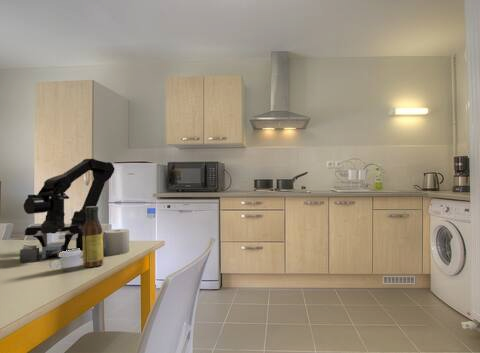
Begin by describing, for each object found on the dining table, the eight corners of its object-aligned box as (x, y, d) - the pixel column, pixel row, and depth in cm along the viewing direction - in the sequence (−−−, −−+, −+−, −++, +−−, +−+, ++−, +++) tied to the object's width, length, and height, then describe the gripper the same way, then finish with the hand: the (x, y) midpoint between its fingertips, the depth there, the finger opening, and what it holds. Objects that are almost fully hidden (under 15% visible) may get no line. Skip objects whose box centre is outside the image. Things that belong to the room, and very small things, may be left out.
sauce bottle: (107, 263, 106) (107, 206, 106) (93, 268, 100) (93, 207, 100) (92, 262, 108) (92, 205, 108) (77, 267, 102) (77, 207, 103)
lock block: (67, 252, 123) (67, 241, 123) (61, 257, 114) (61, 246, 114) (50, 253, 121) (50, 242, 121) (42, 259, 112) (42, 247, 113)
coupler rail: (49, 252, 123) (49, 239, 123) (35, 262, 109) (35, 247, 109) (35, 253, 122) (35, 240, 122) (19, 263, 108) (19, 248, 108)
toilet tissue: (95, 257, 115) (95, 234, 115) (109, 249, 128) (109, 229, 128) (120, 257, 115) (120, 234, 115) (131, 249, 128) (131, 228, 128)
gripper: (18, 214, 108) (18, 259, 107) (77, 212, 113) (77, 255, 112) (30, 211, 118) (30, 252, 118) (84, 209, 123) (84, 249, 123)
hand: (55, 252), depth 118 cm, fingers closed on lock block, 6 cm apart
